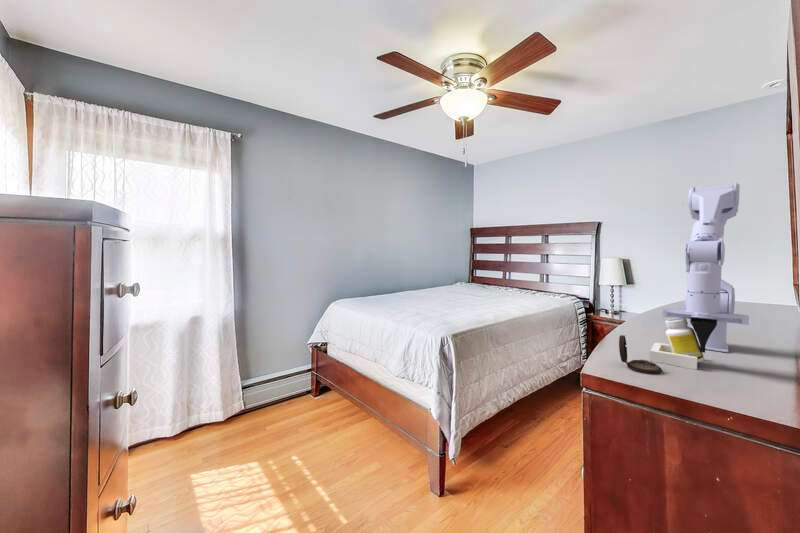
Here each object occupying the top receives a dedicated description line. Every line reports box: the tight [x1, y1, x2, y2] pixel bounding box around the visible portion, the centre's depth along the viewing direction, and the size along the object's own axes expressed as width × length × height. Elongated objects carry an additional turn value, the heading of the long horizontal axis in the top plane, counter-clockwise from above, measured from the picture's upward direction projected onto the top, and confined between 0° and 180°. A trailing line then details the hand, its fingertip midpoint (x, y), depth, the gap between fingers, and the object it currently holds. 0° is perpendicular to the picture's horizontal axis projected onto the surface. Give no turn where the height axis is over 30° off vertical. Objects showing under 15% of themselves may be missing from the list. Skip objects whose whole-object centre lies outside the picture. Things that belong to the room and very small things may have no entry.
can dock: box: [649, 342, 698, 370], centre depth 80 cm, size 10×8×2 cm
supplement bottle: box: [665, 318, 705, 363], centre depth 79 cm, size 5×5×10 cm
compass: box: [618, 334, 663, 375], centre depth 75 cm, size 8×8×7 cm
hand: (701, 351), depth 76 cm, fingers closed, pressing on supplement bottle
